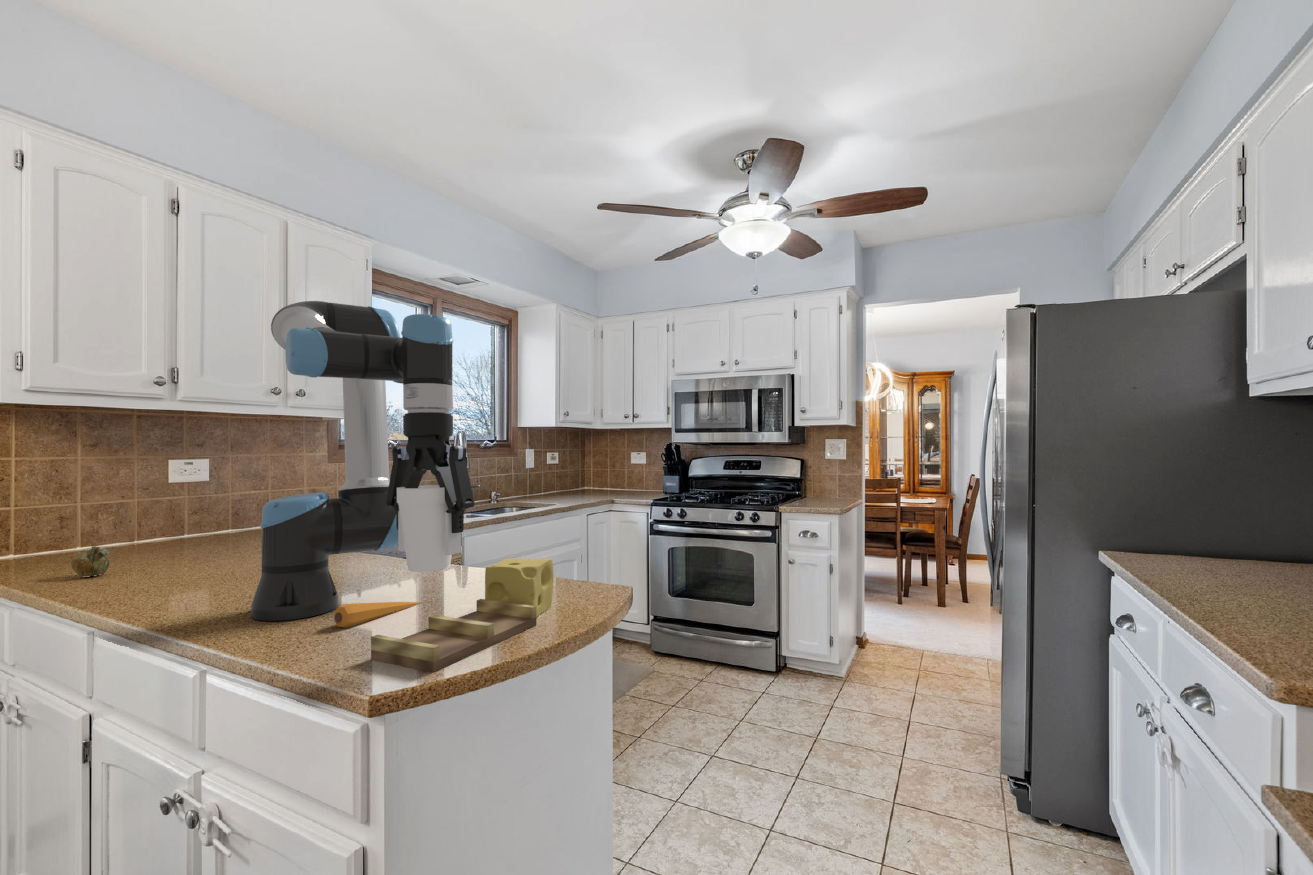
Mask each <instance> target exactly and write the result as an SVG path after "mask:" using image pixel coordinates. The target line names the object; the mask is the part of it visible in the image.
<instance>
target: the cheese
mask: <svg viewBox="0 0 1313 875" xmlns="http://www.w3.org/2000/svg"><path fill="white" fill-rule="evenodd" d="M554 577H555V576H554V563H553V558H550V557H549V558H513V557H512V558H511V557H508V558H507V557H506V558H505V559H504V558H503V559H502V560H500V561H497V562H496V563H494V564H491V565H488V566H486V567H485V571H484V599H486V600H493V601H501V602H509V603H516V604H524V605H532V606H536V619H538V617H539V616H540V615H542V614H543V613H544V612H545V611H547V610H549V609H551V607H552V601H553V593H554V582H555V581H554V580H555V579H554Z"/></svg>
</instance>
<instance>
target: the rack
mask: <svg viewBox="0 0 1313 875" xmlns="http://www.w3.org/2000/svg"><path fill="white" fill-rule="evenodd" d="M535 625H536V626H537V618H536V606H532V605H524V604H516V603H509V602H501V601H493V600H486V599H485V598H479V599H477V600H476V610H475V611H472V612H469V613H468V614H464V615H461V616H459V617H453V616H452V617H451V616H445V615H441V614H439V615H438V614H432V615H430V616H428V628H426V629H424V630H421V631H418V632H415V633H413V634H409V635H407V636H405V637H403V638H398V637H393V636H388V635H381V634H375V635H372V636H370V660H371V661H378V662H381V663H382V662H383V663H386V664H387V663H388V664H391V665H396V666H401V667H407V668H413V669H415V670H416V669H417V670H421V671H427V672H430V673H431V672H432V673H436V672H437V671H438V672H439V671H440V670H442V669H443V668H446V667H448V666H451V665H452V664H455V663H457V662H459V661H461V660H464V659H466V658H468V657H470V656H472V655H474V654H477V653H478V652H481V651H483V650H486V649H487V648H489V647H491V646H494V645H496V644H499V643H500V642H504V641H505V640H507V639H510V638H511V637H514V636H515V635H518V634H520V633H522V632H524V630H525V631H527V630H529V629H531V628H534V627H536V626H535ZM533 626H534V627H533ZM526 629H527V630H526Z"/></svg>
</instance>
